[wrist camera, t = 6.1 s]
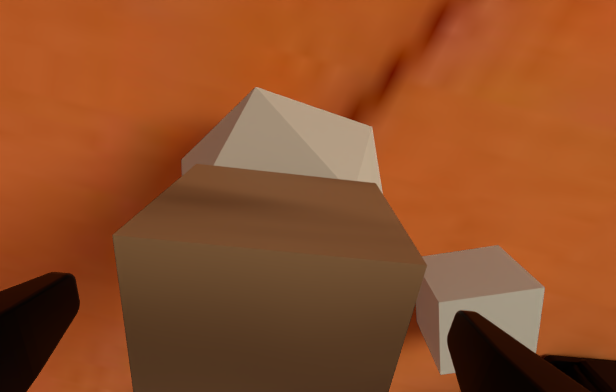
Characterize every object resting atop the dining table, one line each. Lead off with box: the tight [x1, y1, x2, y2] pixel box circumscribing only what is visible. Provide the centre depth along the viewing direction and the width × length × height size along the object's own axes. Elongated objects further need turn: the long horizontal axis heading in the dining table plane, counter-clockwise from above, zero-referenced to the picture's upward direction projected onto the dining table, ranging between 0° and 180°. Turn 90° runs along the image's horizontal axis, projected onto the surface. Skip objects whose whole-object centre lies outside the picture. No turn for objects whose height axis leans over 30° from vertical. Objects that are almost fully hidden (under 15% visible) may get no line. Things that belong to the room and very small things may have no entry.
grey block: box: [416, 245, 545, 375], centre depth 18 cm, size 5×5×4 cm
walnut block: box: [112, 164, 427, 392], centre depth 8 cm, size 5×5×4 cm
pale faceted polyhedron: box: [181, 87, 383, 194], centre depth 13 cm, size 8×9×10 cm
